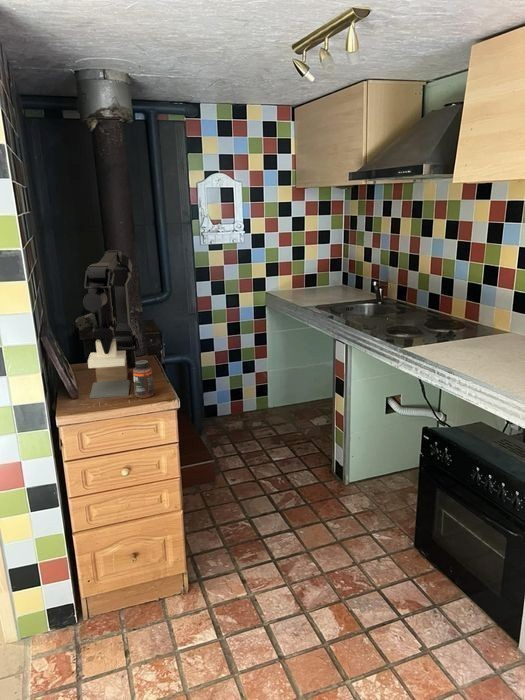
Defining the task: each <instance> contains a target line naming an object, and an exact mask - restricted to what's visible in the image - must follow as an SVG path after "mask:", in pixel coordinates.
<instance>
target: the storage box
mask: <svg viewBox="0 0 525 700" xmlns="http://www.w3.org/2000/svg"><path fill="white" fill-rule="evenodd" d="M128 375H129V374H128V368H127V360H126V362H125V366H114V367H100V368H95V376H96V382H107V381H120V380H128Z"/></svg>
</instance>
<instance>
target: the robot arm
mask: <svg viewBox="0 0 525 700" xmlns="http://www.w3.org/2000/svg"><path fill="white" fill-rule="evenodd" d="M132 272H133V264H132V261H131V260H130V258H129V257H128V256H126V255H124V254H122V251H121V250H120V251H119V250H107V251H105V252H104V255H103V256H102V257H101V259H100V260H99V261H98V262H97V263H92V264H89V266H87V268H86V270H85V275H84V284H83V285H84V286H83V289H84V290H87V291H88V293H86V294H85V295H84V297H83V299H82V304H83V307H84V308H85V309H86V310H87V311H89V312H90V313H88V314H86V315H82V316H79V317H77V318H76V320H75V323H76V327H77V328H78V329H79V331H83V330H84V329H86V328H88V327H93V329H92V331H91V338H92V339H97V340H100V342H101V344H102V347H103V350H104V353H105V354H108V353H109V350H110V347H111V343H112V340H113V339H116V348H117V351H126V360H127V369H128V368H135V367H136V366H135V362H136V361H137V358H136V352H138V351H139V350H141V344H140V341H139V338H138V335H137V334H136V329H135V328H134V326H133V325H132V323H131V319H130V318H131V317H130V304H129V293H128V292H129V291H128V290H129V289H128V283H129V281H130V280H131V277H132ZM113 286H114V296H115V297H114V299H115V309H116V318H115V317H114V314H113V309H114V306H113V304H112V303H113V301H112V292H111V291H112V290H111V289H112V287H113ZM112 326H115V327H112Z"/></svg>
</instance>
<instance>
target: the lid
mask: <svg viewBox="0 0 525 700" xmlns="http://www.w3.org/2000/svg"><path fill="white" fill-rule="evenodd" d="M95 349H96V352H90V354H89V356H88V359H87V365H88V366H87V367H88V369H96V368H100V367H114V366H125V362H126V351H117V348H116V339H113V340H112V343H111V347H110V350H109V353H108V354H105V353H104V350H103V347H102V344H101V342H100V340H99V339H96V340H95Z"/></svg>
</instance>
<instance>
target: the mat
mask: <svg viewBox="0 0 525 700" xmlns="http://www.w3.org/2000/svg"><path fill="white" fill-rule="evenodd" d="M130 383H131V380H130V379H127V380H120V381H107V382H97V381H95V382H93V383H92V387H91V389H90V390H91V391H90V393H89V399H90V400H91V399H101V398H103V399H105V398H113V397H116V398H117V397H126V396H127V397H128V396H130V395H129V393H130Z"/></svg>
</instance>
